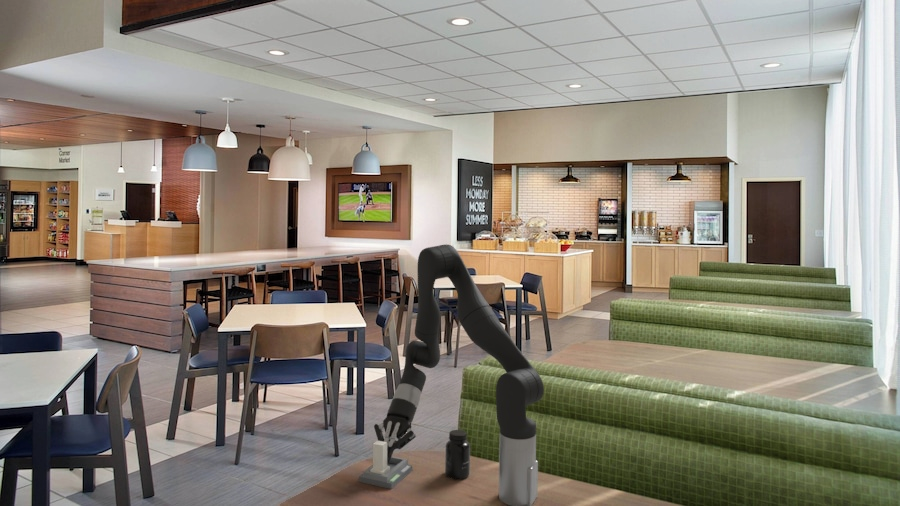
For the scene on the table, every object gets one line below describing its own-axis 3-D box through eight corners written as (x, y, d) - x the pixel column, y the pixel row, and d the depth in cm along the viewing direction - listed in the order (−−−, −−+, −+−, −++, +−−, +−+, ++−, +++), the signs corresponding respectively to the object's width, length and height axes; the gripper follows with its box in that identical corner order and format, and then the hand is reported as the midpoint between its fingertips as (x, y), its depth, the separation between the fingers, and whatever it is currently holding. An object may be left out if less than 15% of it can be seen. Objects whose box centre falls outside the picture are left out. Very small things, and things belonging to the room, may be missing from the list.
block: (390, 472, 166) (390, 441, 165) (382, 478, 162) (382, 446, 161) (377, 470, 167) (377, 439, 167) (370, 476, 164) (370, 444, 163)
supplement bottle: (470, 480, 166) (470, 437, 164) (444, 480, 166) (445, 437, 165) (469, 469, 172) (470, 428, 171) (445, 468, 173) (445, 427, 171)
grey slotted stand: (412, 470, 171) (412, 460, 171) (391, 489, 160) (391, 478, 160) (381, 464, 175) (381, 454, 175) (358, 481, 164) (358, 471, 164)
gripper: (380, 394, 176) (357, 451, 166) (421, 400, 171) (400, 460, 161) (389, 406, 181) (368, 462, 171) (429, 412, 176) (409, 471, 166)
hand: (383, 461), depth 166 cm, fingers closed
